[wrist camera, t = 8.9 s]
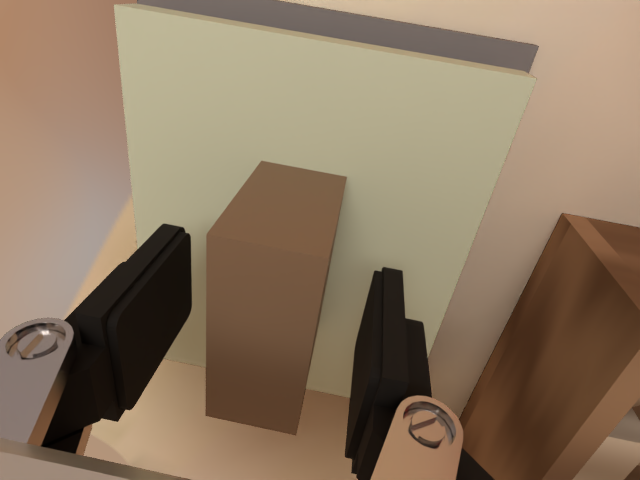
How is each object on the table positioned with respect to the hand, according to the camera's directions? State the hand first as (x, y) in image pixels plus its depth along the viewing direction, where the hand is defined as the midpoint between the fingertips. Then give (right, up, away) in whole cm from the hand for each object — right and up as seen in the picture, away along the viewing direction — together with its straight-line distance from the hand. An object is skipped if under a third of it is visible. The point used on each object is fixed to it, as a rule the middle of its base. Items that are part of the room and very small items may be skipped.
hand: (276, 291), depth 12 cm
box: (+14, -4, +6) cm, 15 cm away
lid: (0, +2, +3) cm, 4 cm away
